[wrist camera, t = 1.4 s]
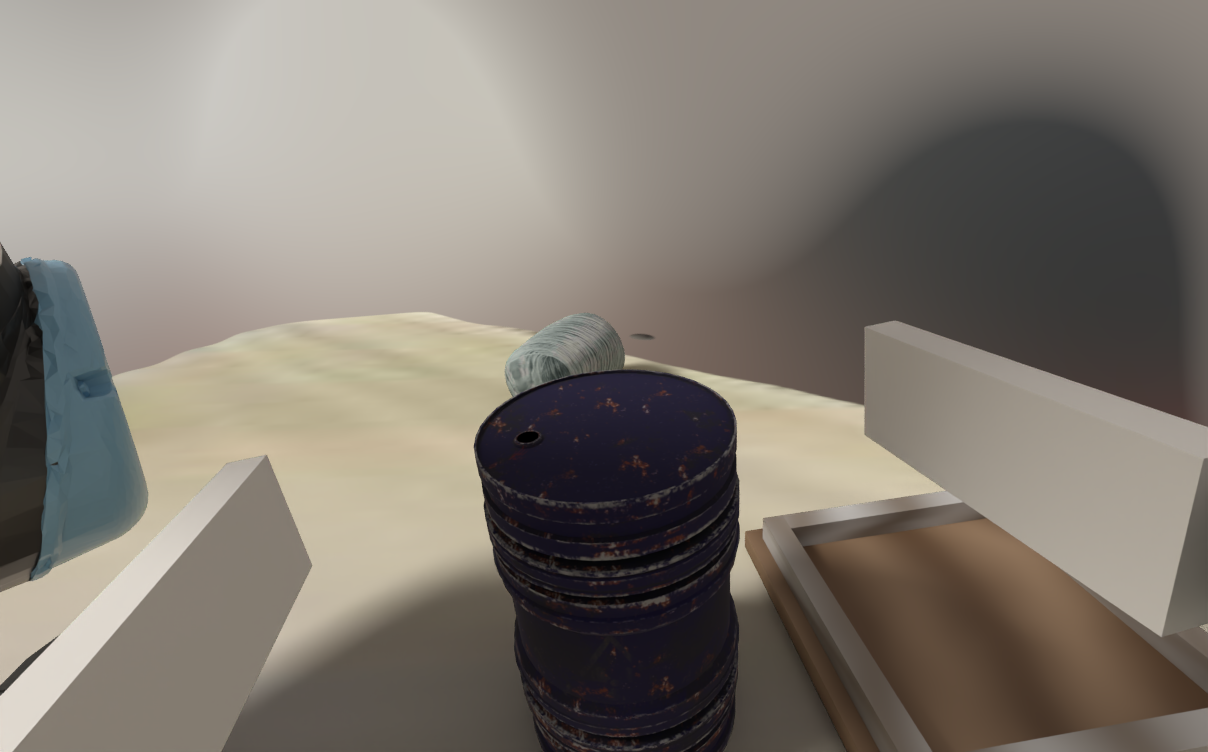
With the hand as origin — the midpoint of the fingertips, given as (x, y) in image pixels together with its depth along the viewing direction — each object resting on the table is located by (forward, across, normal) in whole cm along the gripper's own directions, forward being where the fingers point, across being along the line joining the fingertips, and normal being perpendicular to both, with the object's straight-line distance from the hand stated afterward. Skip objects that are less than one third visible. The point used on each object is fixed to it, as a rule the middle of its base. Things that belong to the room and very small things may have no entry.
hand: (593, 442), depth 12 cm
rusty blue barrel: (+9, 0, -18) cm, 20 cm away
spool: (+41, +2, -16) cm, 44 cm away
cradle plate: (+8, +17, -19) cm, 27 cm away
